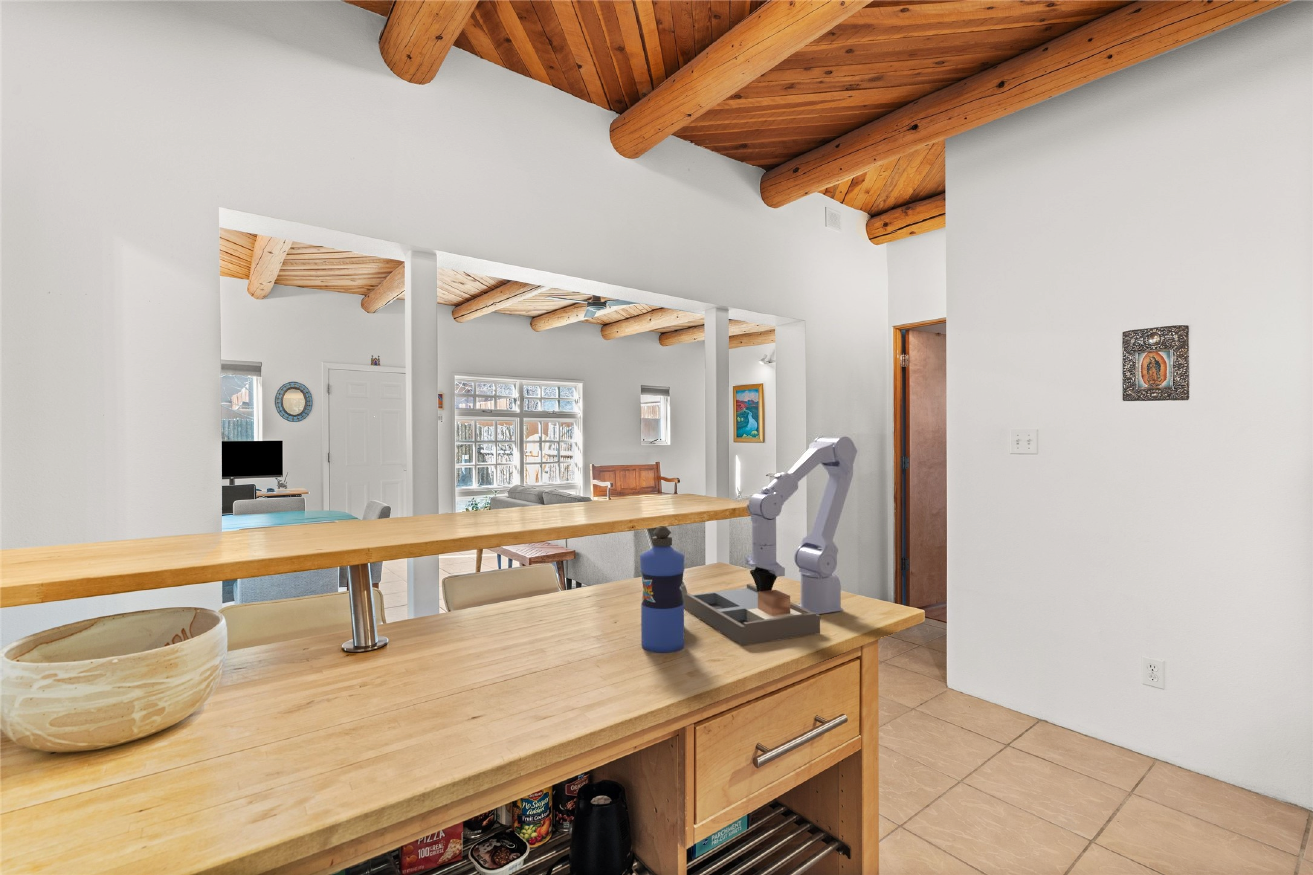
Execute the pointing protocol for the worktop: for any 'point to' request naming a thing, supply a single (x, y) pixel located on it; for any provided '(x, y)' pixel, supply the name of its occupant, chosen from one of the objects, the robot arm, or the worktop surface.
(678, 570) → the water bottle
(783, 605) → the block
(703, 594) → the box
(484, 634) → the worktop surface
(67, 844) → the worktop surface
